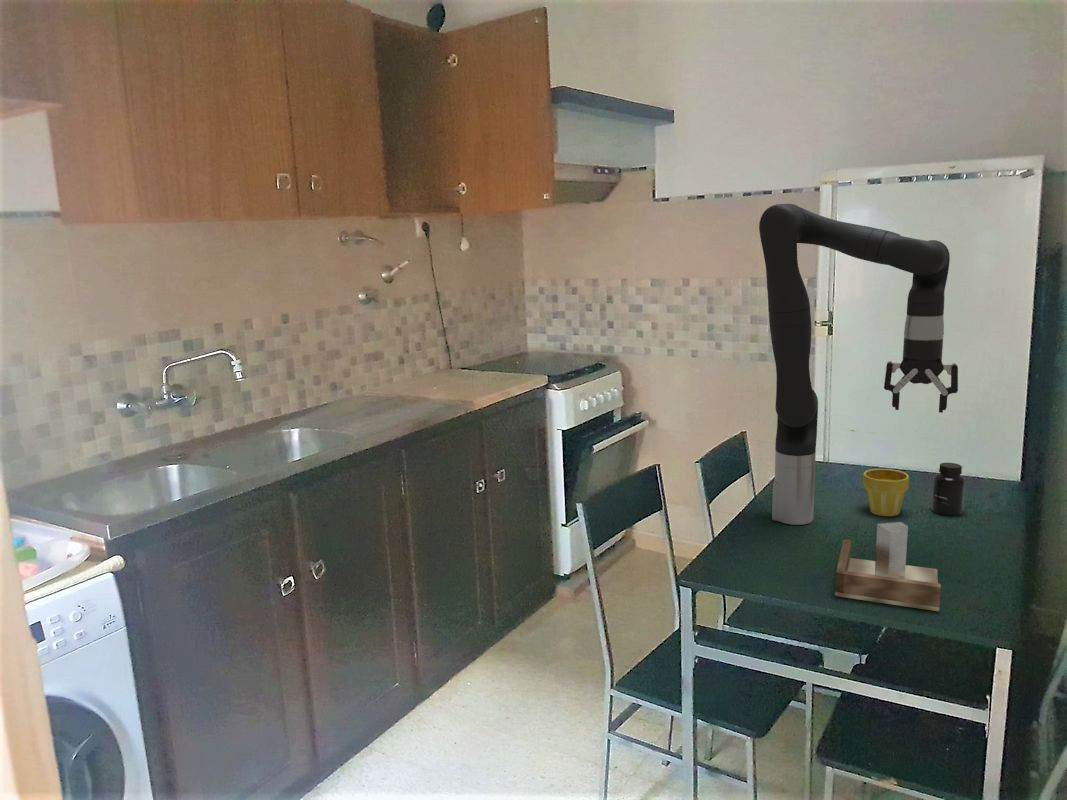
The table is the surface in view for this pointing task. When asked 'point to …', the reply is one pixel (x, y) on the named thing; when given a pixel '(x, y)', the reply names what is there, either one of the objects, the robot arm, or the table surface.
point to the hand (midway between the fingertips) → (918, 410)
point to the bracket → (891, 550)
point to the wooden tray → (886, 583)
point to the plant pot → (885, 490)
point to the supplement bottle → (948, 490)
